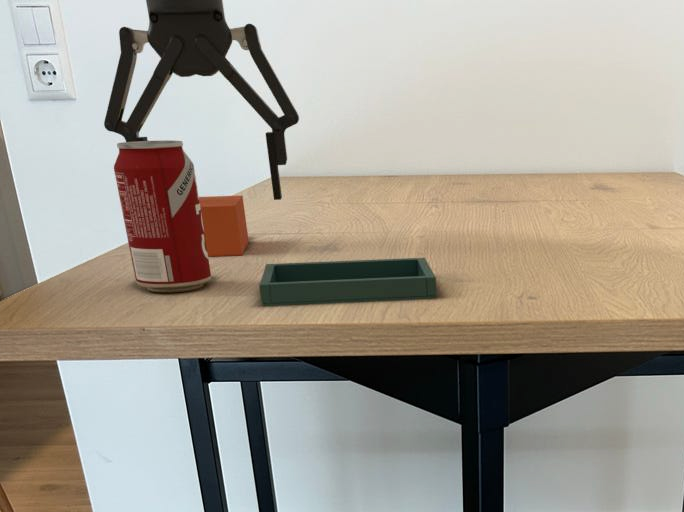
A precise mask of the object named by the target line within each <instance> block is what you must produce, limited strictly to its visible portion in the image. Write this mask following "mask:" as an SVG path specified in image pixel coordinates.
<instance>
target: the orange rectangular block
mask: <svg viewBox="0 0 684 512" xmlns="http://www.w3.org/2000/svg"><path fill="white" fill-rule="evenodd" d="M199 202H200V208H201V215H202V221H203V227H204V234H205V240H206V247H207V253H208V257H227V256H228V257H230V256H242V255H243V254H244V252H245V250H246V248H247V246H248V244H249V242H250V241H249V233H248V225H247V219H246V211H245V204H244V197H243V195H216V196H212V195H211V196H199Z"/></svg>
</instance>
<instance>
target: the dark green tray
mask: <svg viewBox="0 0 684 512" xmlns="http://www.w3.org/2000/svg"><path fill="white" fill-rule="evenodd" d="M258 286H259V293H260V302H261V306H262V307H279V306H281V307H282V306H299V305H300V306H301V305H322V304H324V305H325V304H346V303H366V302H367V303H368V302H387V301H389V302H390V301H408V300H409V301H410V300H412V301H413V300H431V299H433V300H434V299H437V277H436V275H435V273H434V272H433V270H432V268H431V266H430V264H429V262H428V261H427V259H426V257H405V258H381V259H358V260H357V259H356V260H355V259H354V260H335V261H334V260H333V261H307V262H289V263H288V262H284V263H281V262H280V263H266V264H265V267H264V270H263V273H262V277H261V279H260V282H259V285H258Z"/></svg>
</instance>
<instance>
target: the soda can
mask: <svg viewBox="0 0 684 512" xmlns="http://www.w3.org/2000/svg"><path fill="white" fill-rule="evenodd" d="M116 147H117V148H118V154H117V157H116V159H115V163H114V164H113V172H114V177H115V182H116V187H117V191H118V196H119V203H120V207H121V212H122V218H123V222H124V227H125V234H126V237H127V243H128V247H129V252H130V257H131V262H132V268H133V273H134V278H135V283H136V284H137V285H138V286H141V287H144V288H146V290H148V291H149V292H153V293H161V294H162V293H163V294H164V293H165V294H167V293H168V294H170V293H171V294H172V293H183V292H190V291H195V290H198V289H201V288H202V287H204V284H205V283H207V282H209V281H210V280H211V279H212V273H211V267H210V261H209V256H208V253H207V247H206V240H205V234H204V227H203V221H202V215H201V208H200V202H199V197H200V195H199V190H198V184H197V177H196V170H195V164H194V163H193V161H192V160H191V158H190V157H189V155H187V153H186V151H185V150H184V148H183V147H184V142H183V141H182V140H148V141H135V142H126V141H124V142H117V143H116Z"/></svg>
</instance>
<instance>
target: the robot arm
mask: <svg viewBox="0 0 684 512" xmlns="http://www.w3.org/2000/svg"><path fill="white" fill-rule="evenodd" d="M145 3H146V9H147V14H148V15H147V16H148V20H149V23H148V28H147V30H141V29H133V28H132V27H128V26H122V27H120V28H119V31H118V36H119V37H118V38H119V46H120V47H119V48H120V53H119V54H120V55H119V59H118V63H117V67H116V72H115V76H114V79H113V84H112V89H111V92H110V97H109V101H108V104H107V105H108V106H107V109H106V113H105V118H104V122H103V126H104V128H105V130H107V131H108V132H111V133H115V134H118V135H121V136H122V137H123V138H124V140H125V142H135V141H149V140H148V136H140V132H141V130H142V128H143V126H144V124H145V122H146V121H147V119H148V117H149V116H150V115H151V112H152V110H153V108H154V106H155V105H156V103H157V101H158V99H159V98H160V96H161V94H162V92H163V90H164V89H165V87H166V85H167V83H168V82H169V81H170V79H171V78H172V75H173V74H174V75H176V76H178V77H180V78H189V77H190V78H191V77H194V76H196V75H197V76H201V77H212V76H214V75H216V74H217V73H220V74H221V75H222V76H223V77H224V78H225V80H227V82H228V83H230V85H231V86H232V87H233V88H234V89H235V90H236V91H237V92H238V94H240V95H241V97H242V98H243V99H244V100H245V101H246V102H247V103H248V104H249V105H250V106H251V108H252V109H253V110H254V111H255V112H256V113H257V114H258V116H259V117H260V118H262V120H263V121H264V122H265V124H266V125H268V127H270V129H271V131H267V132H265V140H266V141H265V142H266V149H267V156H268V166H269V171H270V178H271V187H272V194H273V196H272V197H273V200H274V201H281V200H282V197H283V195H282V187H281V179H280V172H279V166H286V165H287V162H288V154H287V153H288V152H287V145H286V136H285V133H286V130H287V129H289V128H290V127H293V126H296V125H297V124H298V123H299V121H300V115H299V113H298V111H297V110H296V108H295V106H294V104H293V102H292V101H291V99H290V97H289V95H288V94H287V92H286V90H285V89H284V87H283V85H282V83H281V81H280V79H279V77H278V76H277V74H276V72H275V70H274V69H273V67H272V65H271V63H270V62H269V60H268V58H267V56H266V54H265V52H264V50H263V49H262V44H261V40H260V36H259V31H258V28H257V27H256V26H255V25H254V24H252V23H247V24H245V26H237V27H233V28H232V27H231V28H230V27H229V25H228V23H227V21H226V15H225V9H224V8H225V7H224V2H223V0H145ZM234 41H236V42H237V43H238V45H239V46H240V48H241V49H242V50H244V51H248V52H249V54H250V56H251V58H252V60H253V62H254V64H255V66H256V67H257V69H258V71H259V73H260V75H261V76H262V78H263V80H264V81H265V83H266V85H267V87H268V88H269V90H270V92H271V94H272V96H273V97H274V100H275V101H276V103H277V105H278V106H279V108H280V109H281V111H282V113H283V115H281V116H278V115H277V114H276V113H275V111H274V110H273V109H272V108H271V107H270V106H269V105H268V104H267V102H266V101H265V100H264V99H263V98H262V97H261V96H260V95H259V94H258V92H256V90H255V89H254V88H253V87H252V86H251V85H250V83H249V82H248V81H247V80H246V79H245V78H244V77H243V76H242V75H241V74H240V73H239V71H238V70H237V68H235V66H234V65H233V64H232V63H231V62H230V61H229V60H228V58H227V54H228V52H229V50H230V49H231V46H232V44H233V42H234ZM146 44H149V45H150V47H151V48H152V49H153V51H154V52H155V53H156V54H157V55H158V57H159V58H160V59H159V61H158V63H157V65H156V66H155V69H154V70H153V73H152V75H151V77H150V79H149V81H148V82H147V84H146V87H145V88H144V90H143V92H142V93H141V95H140V96H139V99H138V101H137V103H136V104H135V106H134V108H133V110H132V111H131V113H130V115H129V117H128V119H127V121H124V120H123V117H124V113H125V109H126V106H127V105H126V104H127V101H128V96H129V92H130V89H131V85H132V81H133V76H134V73H135V68H136V65H137V59H138V54H142V53H143V51H144V48H145V45H146Z"/></svg>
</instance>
